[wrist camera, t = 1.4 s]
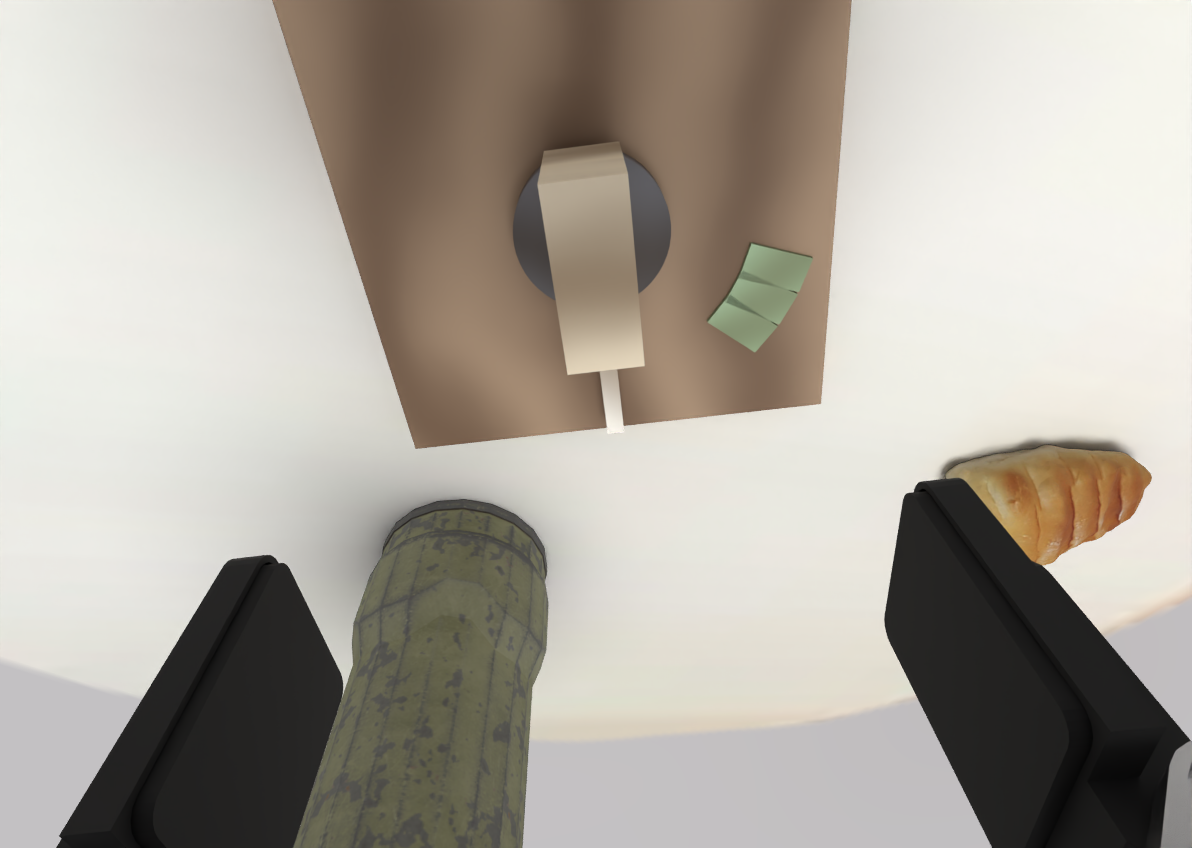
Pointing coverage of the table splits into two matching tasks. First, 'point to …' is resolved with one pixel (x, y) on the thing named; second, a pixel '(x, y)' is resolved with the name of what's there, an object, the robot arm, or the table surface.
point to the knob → (594, 255)
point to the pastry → (1056, 494)
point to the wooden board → (571, 119)
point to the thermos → (437, 689)
